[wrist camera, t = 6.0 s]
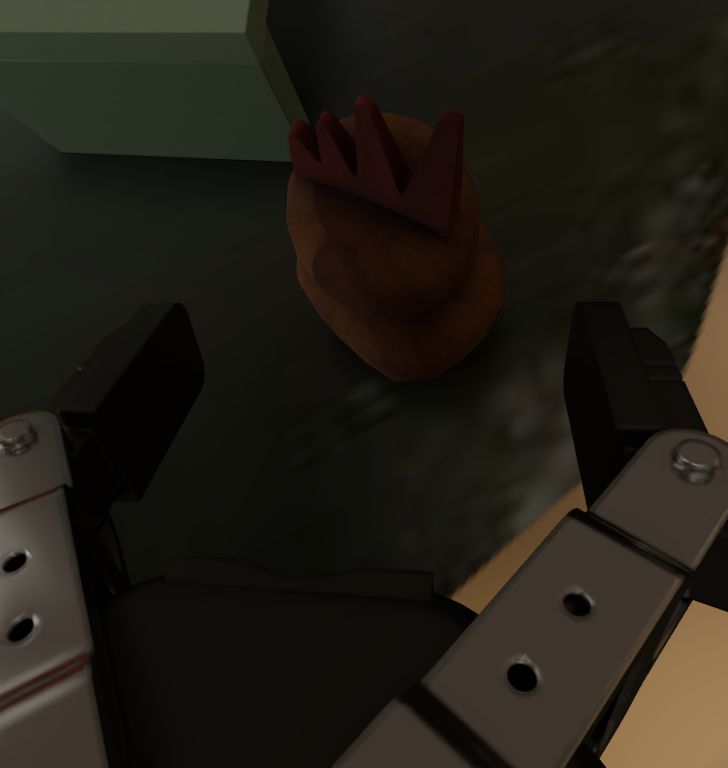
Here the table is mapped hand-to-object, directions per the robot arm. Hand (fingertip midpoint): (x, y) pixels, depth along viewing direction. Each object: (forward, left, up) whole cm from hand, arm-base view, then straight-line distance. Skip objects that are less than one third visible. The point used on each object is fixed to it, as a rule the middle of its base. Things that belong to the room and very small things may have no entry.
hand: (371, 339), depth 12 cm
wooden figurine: (0, +3, -12) cm, 12 cm away
